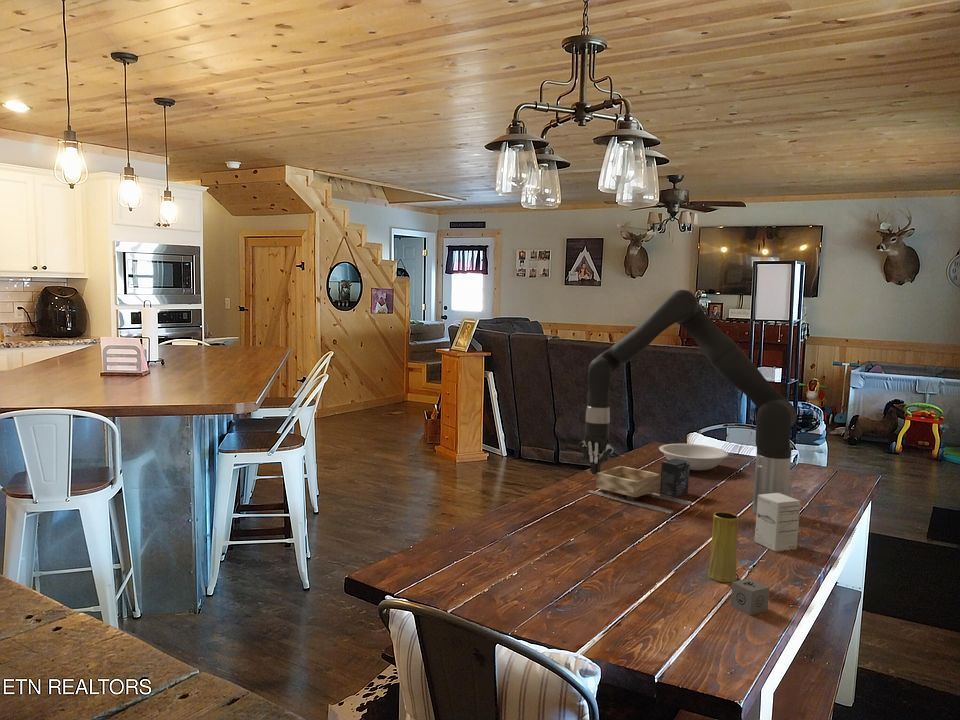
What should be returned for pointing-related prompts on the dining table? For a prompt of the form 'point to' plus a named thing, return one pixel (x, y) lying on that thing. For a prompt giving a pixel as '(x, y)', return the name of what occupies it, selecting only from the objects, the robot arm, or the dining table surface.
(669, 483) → the box
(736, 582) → the grey cube
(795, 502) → the supplement box
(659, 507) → the rails
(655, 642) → the dining table surface
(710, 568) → the vase
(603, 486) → the light wooden open box
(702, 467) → the soup bowl
